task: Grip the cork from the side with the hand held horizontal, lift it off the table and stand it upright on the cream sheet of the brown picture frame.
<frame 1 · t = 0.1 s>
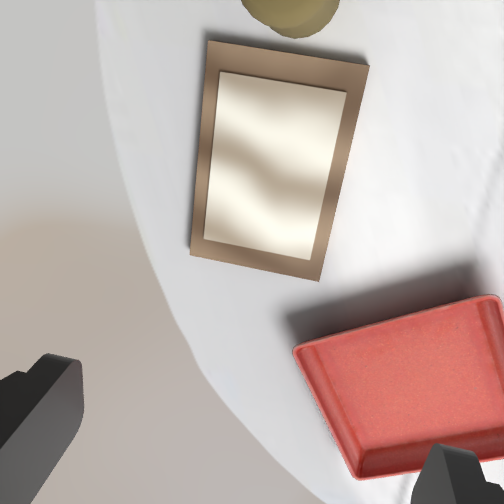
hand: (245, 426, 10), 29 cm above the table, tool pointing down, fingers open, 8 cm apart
brown picture frame: (269, 169, 37), on the table
plant saucer: (411, 376, 44), on the table
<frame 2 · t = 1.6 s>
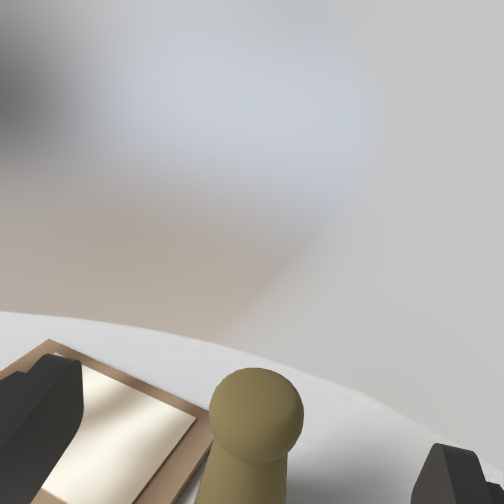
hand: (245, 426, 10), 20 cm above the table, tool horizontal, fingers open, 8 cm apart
brown picture frame: (79, 433, 33), on the table
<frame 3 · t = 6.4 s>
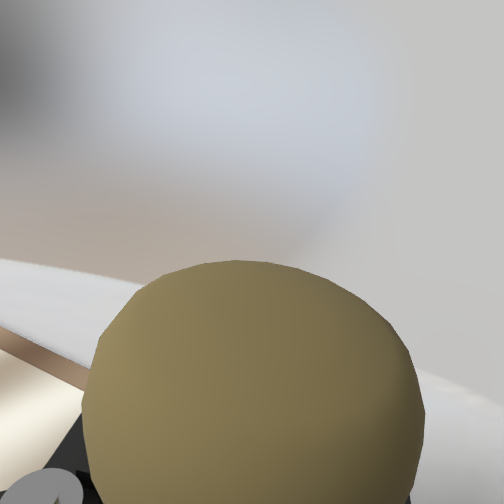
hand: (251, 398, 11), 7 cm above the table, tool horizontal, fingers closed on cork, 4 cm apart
when the fingers open (9 cm above the table, at t = 12.4 s): cork moves 3 cm, point 1 cm above the table.
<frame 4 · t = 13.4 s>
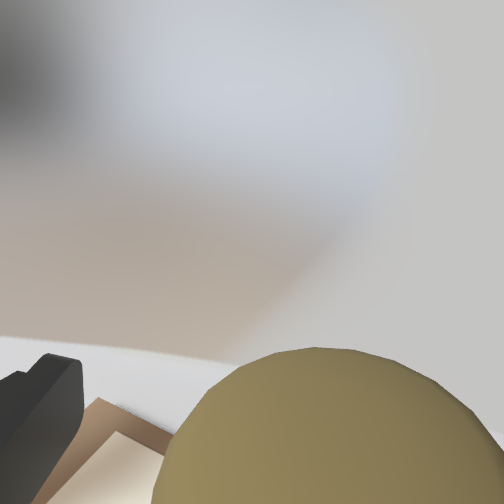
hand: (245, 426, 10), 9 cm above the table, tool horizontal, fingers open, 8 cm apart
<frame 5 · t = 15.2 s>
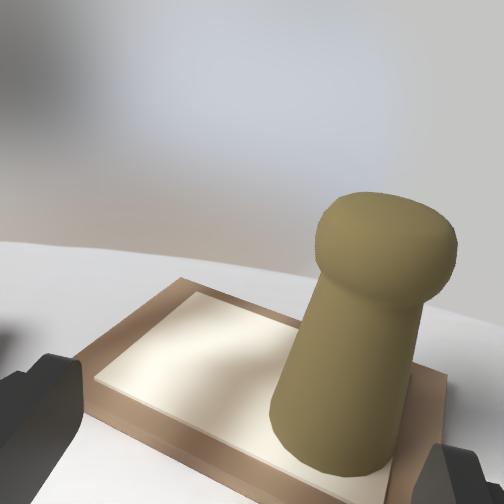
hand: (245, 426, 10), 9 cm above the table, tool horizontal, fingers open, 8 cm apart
brown picture frame: (261, 388, 24), on the table
cork: (330, 423, 21), point 1 cm above the table, touching brown picture frame
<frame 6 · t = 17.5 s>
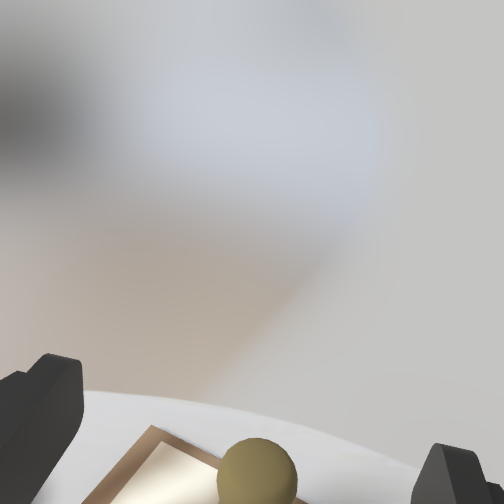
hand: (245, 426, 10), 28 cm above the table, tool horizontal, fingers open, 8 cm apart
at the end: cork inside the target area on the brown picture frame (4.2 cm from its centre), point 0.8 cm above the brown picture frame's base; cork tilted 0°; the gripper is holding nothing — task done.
